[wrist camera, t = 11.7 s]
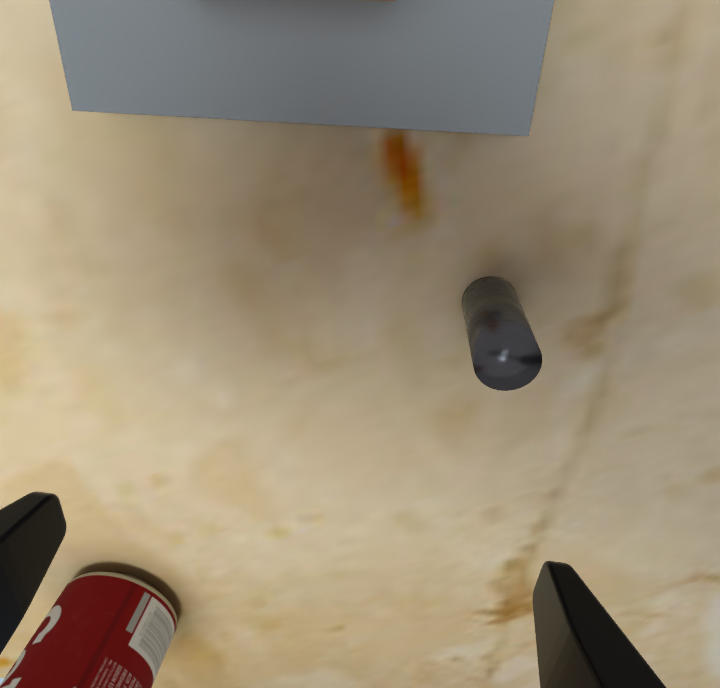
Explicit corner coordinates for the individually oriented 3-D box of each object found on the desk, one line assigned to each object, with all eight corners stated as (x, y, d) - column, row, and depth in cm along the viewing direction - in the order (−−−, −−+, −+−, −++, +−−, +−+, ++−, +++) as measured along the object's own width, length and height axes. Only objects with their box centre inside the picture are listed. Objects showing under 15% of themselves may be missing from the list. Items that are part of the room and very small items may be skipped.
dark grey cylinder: (521, 278, 19) (548, 336, 15) (511, 327, 20) (534, 393, 16) (465, 274, 19) (478, 330, 15) (458, 323, 20) (469, 387, 16)
